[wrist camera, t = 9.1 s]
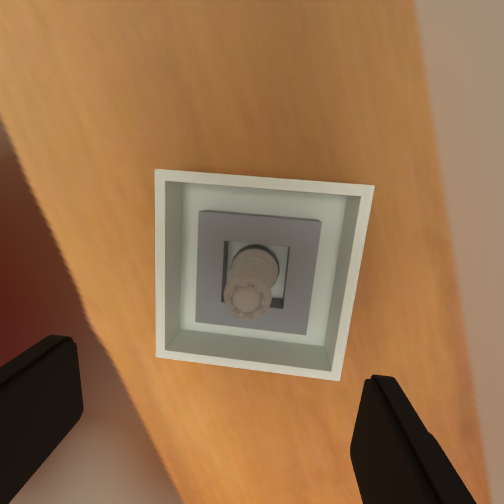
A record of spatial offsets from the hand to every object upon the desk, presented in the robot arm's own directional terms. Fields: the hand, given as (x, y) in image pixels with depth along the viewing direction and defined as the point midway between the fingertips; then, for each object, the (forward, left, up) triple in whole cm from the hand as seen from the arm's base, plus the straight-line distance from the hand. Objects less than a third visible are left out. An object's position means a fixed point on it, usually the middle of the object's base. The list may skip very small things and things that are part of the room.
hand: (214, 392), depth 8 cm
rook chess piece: (0, 0, -16) cm, 16 cm away
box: (+1, 0, -17) cm, 17 cm away
